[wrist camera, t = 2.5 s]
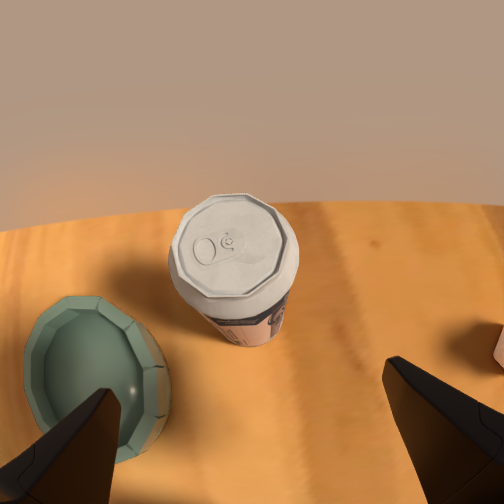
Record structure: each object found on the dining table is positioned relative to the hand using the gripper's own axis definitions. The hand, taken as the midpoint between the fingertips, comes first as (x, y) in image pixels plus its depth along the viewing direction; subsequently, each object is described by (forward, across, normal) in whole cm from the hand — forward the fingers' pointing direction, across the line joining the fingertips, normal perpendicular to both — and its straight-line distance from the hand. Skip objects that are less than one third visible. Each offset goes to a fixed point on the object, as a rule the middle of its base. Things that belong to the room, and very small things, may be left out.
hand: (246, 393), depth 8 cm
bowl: (+8, +13, +8) cm, 17 cm away
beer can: (+12, 0, +5) cm, 13 cm away
